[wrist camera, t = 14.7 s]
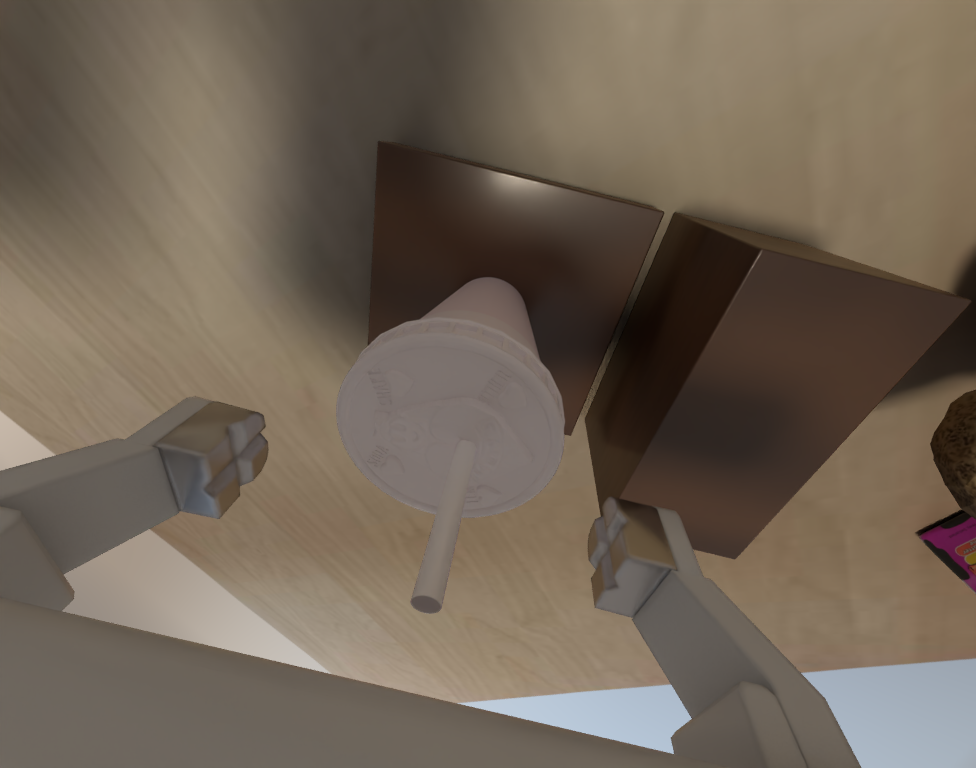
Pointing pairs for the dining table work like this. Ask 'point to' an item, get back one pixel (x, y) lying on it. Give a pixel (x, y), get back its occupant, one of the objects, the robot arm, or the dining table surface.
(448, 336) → the smoothie
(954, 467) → the teapot
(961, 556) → the candy bar box
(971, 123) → the dining table surface
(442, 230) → the step shelf
